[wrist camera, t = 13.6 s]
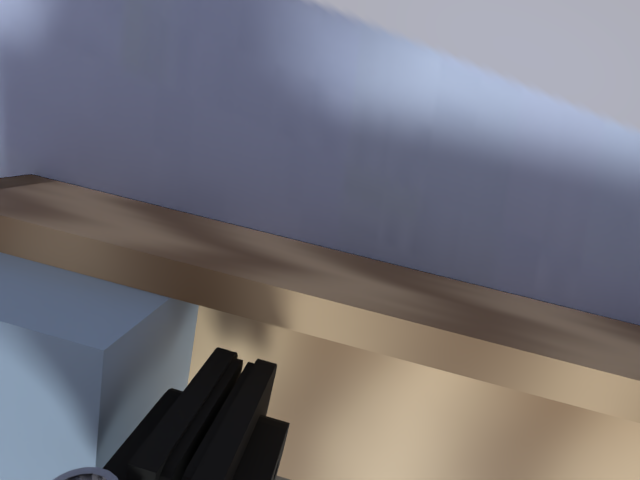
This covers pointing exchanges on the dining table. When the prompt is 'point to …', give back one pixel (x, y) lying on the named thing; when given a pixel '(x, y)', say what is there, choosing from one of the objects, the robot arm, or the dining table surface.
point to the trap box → (363, 344)
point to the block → (81, 365)
